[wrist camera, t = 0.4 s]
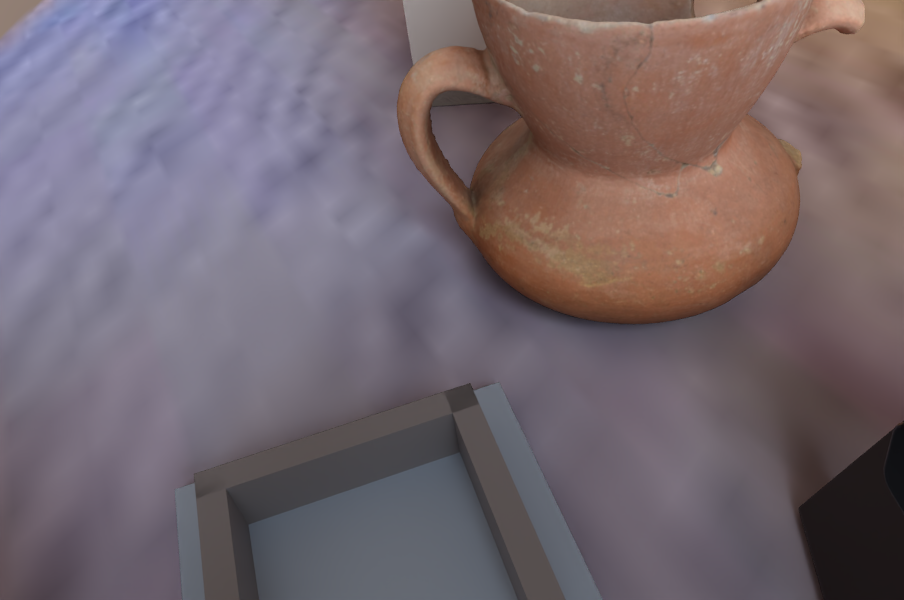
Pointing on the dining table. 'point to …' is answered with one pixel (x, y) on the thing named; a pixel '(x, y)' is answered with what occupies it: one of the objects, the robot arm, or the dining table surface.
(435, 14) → the display case
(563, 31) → the ceramic jug
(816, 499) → the door stopper
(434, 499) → the coupler cradle
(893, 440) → the robot arm
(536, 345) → the dining table surface
